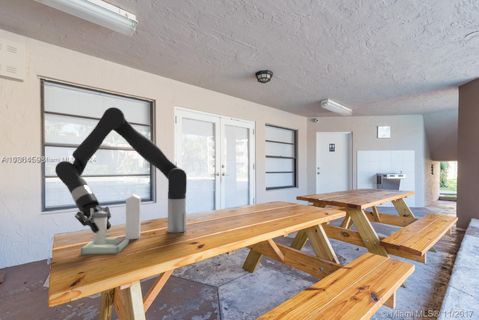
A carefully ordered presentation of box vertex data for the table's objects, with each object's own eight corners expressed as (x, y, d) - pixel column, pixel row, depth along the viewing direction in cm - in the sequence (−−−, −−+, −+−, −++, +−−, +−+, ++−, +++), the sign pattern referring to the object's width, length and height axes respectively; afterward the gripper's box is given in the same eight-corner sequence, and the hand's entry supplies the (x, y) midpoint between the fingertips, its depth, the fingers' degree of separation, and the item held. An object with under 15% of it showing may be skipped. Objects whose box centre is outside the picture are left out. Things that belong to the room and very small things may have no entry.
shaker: (109, 240, 104) (109, 211, 104) (103, 244, 98) (104, 214, 99) (96, 240, 103) (96, 211, 103) (89, 245, 98) (90, 214, 98)
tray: (128, 243, 109) (128, 237, 109) (118, 253, 97) (118, 247, 97) (95, 244, 107) (95, 238, 107) (80, 254, 95) (80, 248, 95)
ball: (123, 243, 107) (124, 236, 107) (121, 245, 104) (121, 238, 104) (116, 243, 107) (116, 236, 107) (114, 245, 104) (114, 238, 104)
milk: (125, 239, 114) (125, 192, 114) (127, 235, 120) (127, 191, 120) (139, 238, 116) (139, 192, 116) (140, 234, 121) (140, 190, 121)
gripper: (71, 194, 97) (90, 228, 92) (104, 191, 111) (122, 220, 105) (63, 206, 100) (81, 240, 95) (96, 201, 113) (114, 231, 108)
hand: (103, 229), depth 100 cm, fingers closed on shaker, 4 cm apart
